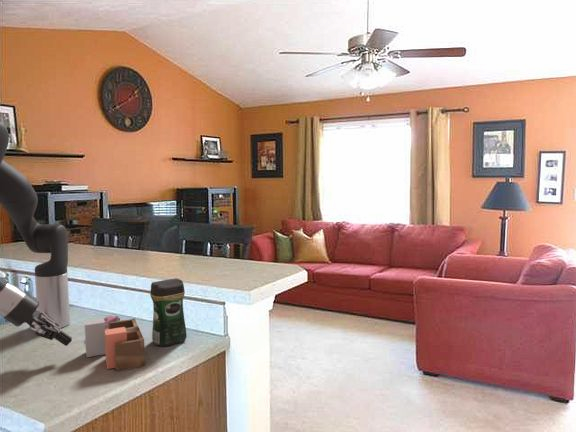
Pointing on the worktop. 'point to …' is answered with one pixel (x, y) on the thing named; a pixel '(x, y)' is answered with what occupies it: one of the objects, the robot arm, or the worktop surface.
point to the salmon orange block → (113, 344)
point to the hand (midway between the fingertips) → (69, 342)
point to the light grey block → (95, 337)
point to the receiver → (129, 346)
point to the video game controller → (110, 320)
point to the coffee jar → (168, 312)
